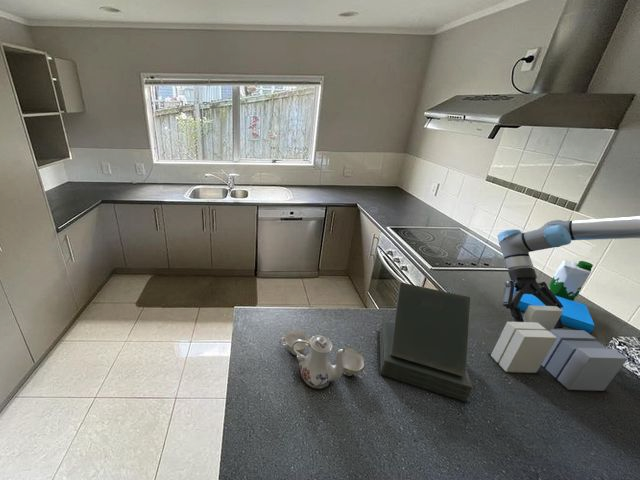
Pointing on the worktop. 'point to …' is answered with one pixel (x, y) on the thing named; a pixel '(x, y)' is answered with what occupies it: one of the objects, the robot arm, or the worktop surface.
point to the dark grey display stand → (428, 341)
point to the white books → (523, 347)
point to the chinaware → (322, 359)
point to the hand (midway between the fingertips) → (540, 328)
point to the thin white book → (543, 315)
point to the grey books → (582, 361)
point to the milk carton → (570, 279)
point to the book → (564, 312)
